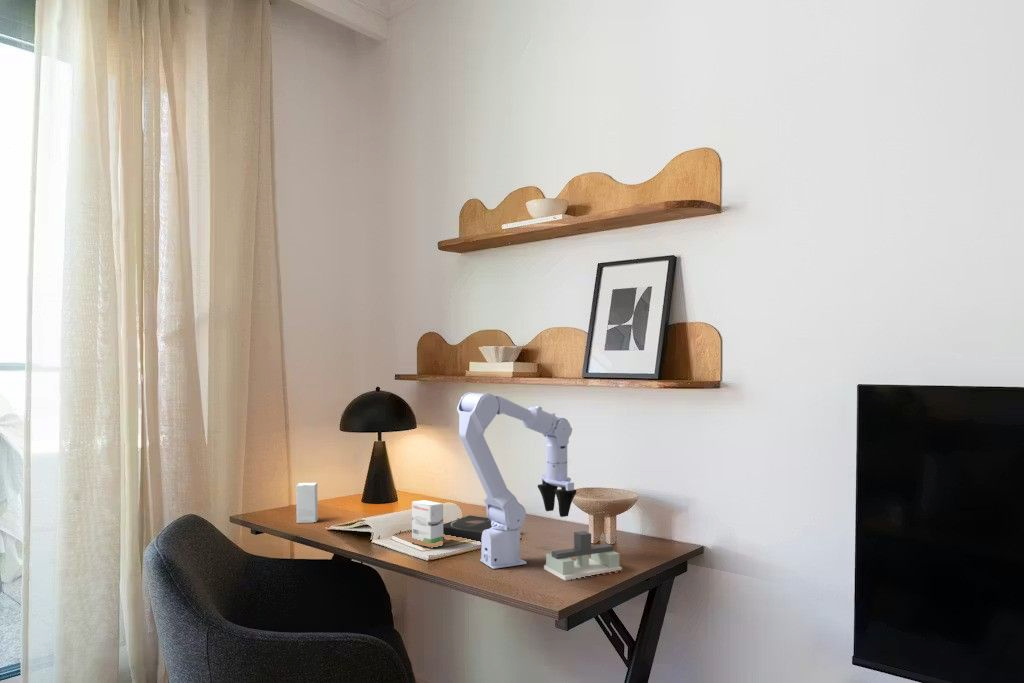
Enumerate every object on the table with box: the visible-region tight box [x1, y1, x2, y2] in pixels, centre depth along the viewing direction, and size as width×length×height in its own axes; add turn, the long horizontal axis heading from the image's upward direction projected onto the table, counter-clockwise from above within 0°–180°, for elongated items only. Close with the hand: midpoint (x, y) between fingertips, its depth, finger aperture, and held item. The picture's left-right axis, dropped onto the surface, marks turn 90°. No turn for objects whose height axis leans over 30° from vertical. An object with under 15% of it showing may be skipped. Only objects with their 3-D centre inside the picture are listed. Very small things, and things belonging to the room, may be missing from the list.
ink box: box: [411, 499, 445, 543], centre depth 191 cm, size 9×5×12 cm, turn 47°
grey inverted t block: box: [551, 530, 614, 559], centre depth 167 cm, size 16×3×5 cm, turn 117°
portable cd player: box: [443, 515, 492, 542], centre depth 200 cm, size 16×17×4 cm
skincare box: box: [295, 482, 319, 524], centre depth 218 cm, size 6×4×12 cm
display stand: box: [543, 550, 623, 582], centre depth 167 cm, size 16×10×4 cm, turn 117°
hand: (556, 513), depth 183 cm, fingers open, 7 cm apart
